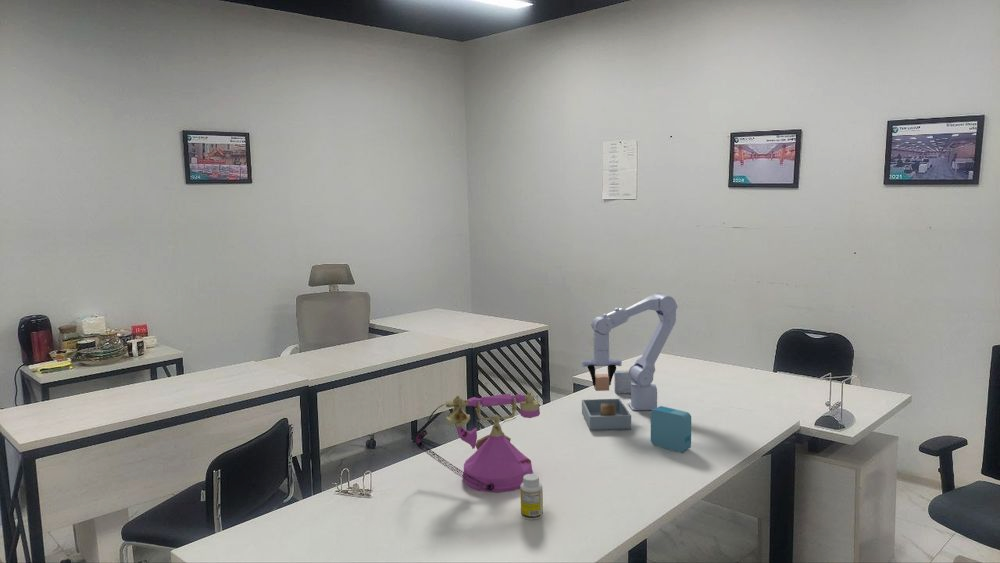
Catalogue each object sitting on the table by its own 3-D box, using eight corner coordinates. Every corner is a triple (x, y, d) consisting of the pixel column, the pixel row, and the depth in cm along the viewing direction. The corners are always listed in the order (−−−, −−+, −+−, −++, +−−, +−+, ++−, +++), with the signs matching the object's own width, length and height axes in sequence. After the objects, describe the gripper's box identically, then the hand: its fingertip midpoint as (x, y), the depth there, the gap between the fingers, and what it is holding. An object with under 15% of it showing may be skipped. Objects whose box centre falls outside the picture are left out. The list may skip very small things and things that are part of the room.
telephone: (532, 459, 197) (531, 379, 194) (551, 490, 175) (550, 402, 172) (416, 470, 191) (412, 388, 188) (420, 504, 169) (416, 413, 166)
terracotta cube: (607, 386, 243) (607, 373, 242) (609, 390, 238) (609, 377, 237) (593, 387, 243) (593, 374, 242) (595, 390, 238) (595, 377, 237)
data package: (691, 449, 201) (691, 412, 200) (684, 453, 198) (684, 416, 197) (657, 440, 210) (657, 405, 208) (650, 444, 206) (650, 408, 205)
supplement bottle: (529, 508, 165) (529, 470, 164) (547, 514, 162) (546, 475, 160) (516, 516, 161) (515, 477, 160) (534, 523, 157) (533, 483, 156)
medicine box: (633, 390, 265) (633, 370, 264) (634, 393, 261) (634, 373, 260) (614, 390, 266) (614, 370, 265) (615, 393, 261) (615, 373, 260)
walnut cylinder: (610, 421, 227) (609, 401, 226) (618, 425, 223) (618, 405, 222) (598, 423, 225) (597, 404, 224) (606, 427, 221) (605, 408, 220)
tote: (619, 411, 239) (619, 398, 238) (631, 429, 220) (631, 415, 219) (581, 412, 239) (581, 399, 238) (589, 430, 220) (589, 416, 219)
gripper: (619, 346, 242) (619, 381, 243) (580, 347, 242) (580, 382, 244) (622, 350, 235) (622, 386, 236) (583, 351, 235) (583, 387, 237)
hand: (601, 384), depth 240 cm, fingers closed on terracotta cube, 5 cm apart
